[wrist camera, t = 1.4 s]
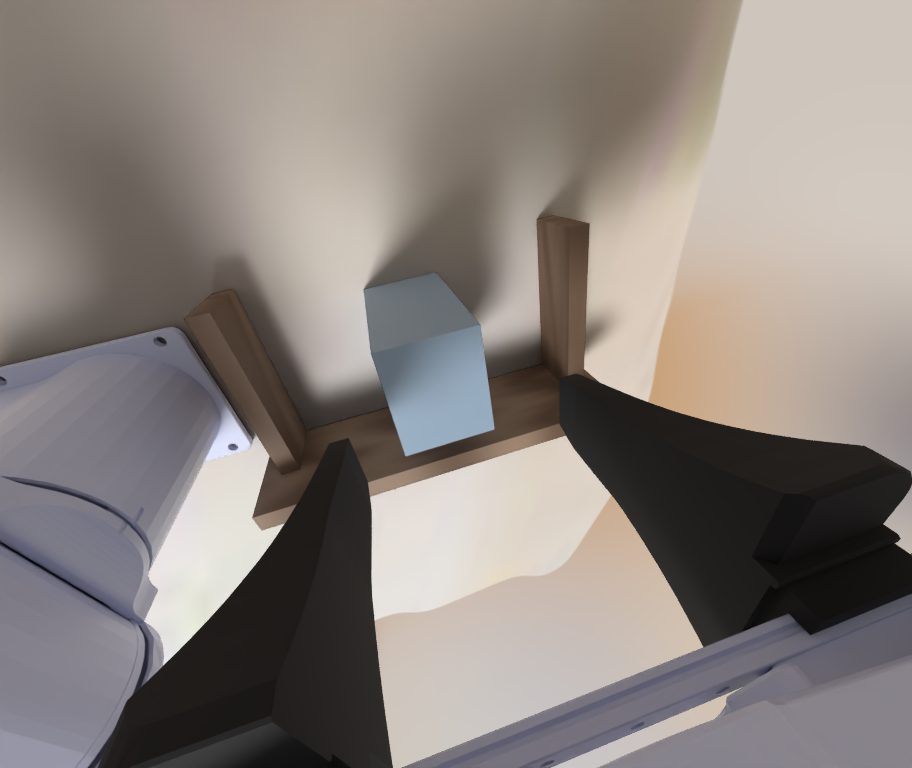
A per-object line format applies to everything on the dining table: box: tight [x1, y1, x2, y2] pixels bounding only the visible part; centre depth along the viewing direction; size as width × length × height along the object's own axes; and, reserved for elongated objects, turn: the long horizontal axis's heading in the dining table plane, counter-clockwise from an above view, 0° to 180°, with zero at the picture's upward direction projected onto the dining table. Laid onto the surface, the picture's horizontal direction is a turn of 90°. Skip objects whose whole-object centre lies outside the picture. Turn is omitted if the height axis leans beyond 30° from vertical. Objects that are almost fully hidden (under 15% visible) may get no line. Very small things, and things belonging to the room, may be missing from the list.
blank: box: [364, 272, 495, 456], centre depth 17 cm, size 4×5×8 cm
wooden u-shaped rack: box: [184, 216, 600, 530], centre depth 19 cm, size 20×10×6 cm, turn 100°
